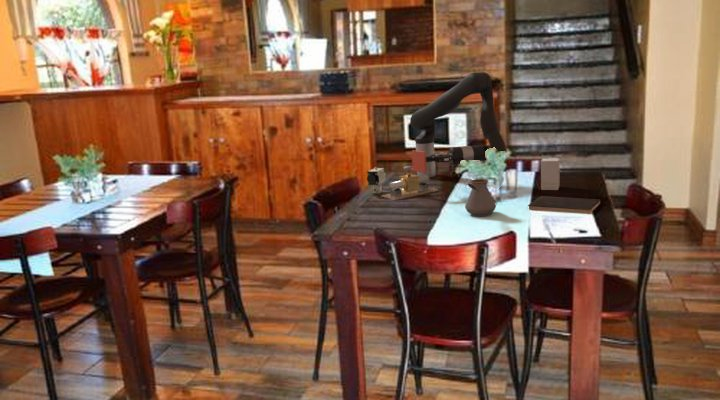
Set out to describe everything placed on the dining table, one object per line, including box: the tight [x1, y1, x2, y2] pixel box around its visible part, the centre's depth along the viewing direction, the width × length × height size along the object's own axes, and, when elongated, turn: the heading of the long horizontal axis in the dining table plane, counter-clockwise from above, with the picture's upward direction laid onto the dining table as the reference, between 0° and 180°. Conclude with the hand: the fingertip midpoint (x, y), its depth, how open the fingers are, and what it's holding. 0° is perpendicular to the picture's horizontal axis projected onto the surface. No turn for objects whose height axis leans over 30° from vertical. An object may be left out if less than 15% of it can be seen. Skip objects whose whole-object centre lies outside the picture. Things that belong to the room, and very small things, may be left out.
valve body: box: [381, 171, 439, 201], centre depth 280 cm, size 24×10×10 cm, turn 122°
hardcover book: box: [527, 195, 602, 214], centre depth 238 cm, size 16×23×2 cm
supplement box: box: [540, 157, 561, 191], centre depth 269 cm, size 7×7×13 cm
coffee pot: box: [464, 178, 497, 217], centre depth 232 cm, size 21×12×15 cm, turn 155°
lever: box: [403, 149, 427, 173], centre depth 273 cm, size 14×4×9 cm, turn 32°
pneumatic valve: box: [366, 166, 387, 195], centre depth 287 cm, size 6×12×12 cm, turn 154°
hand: (423, 159), depth 269 cm, fingers closed
